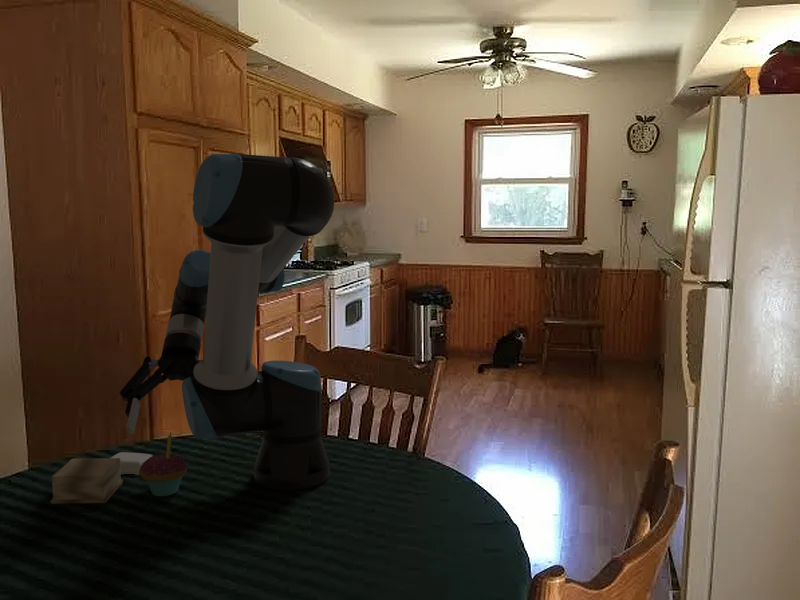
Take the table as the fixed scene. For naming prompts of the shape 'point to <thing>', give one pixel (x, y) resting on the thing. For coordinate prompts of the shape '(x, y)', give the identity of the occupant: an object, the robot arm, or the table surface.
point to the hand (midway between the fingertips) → (165, 430)
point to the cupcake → (164, 472)
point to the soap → (131, 462)
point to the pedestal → (86, 481)
